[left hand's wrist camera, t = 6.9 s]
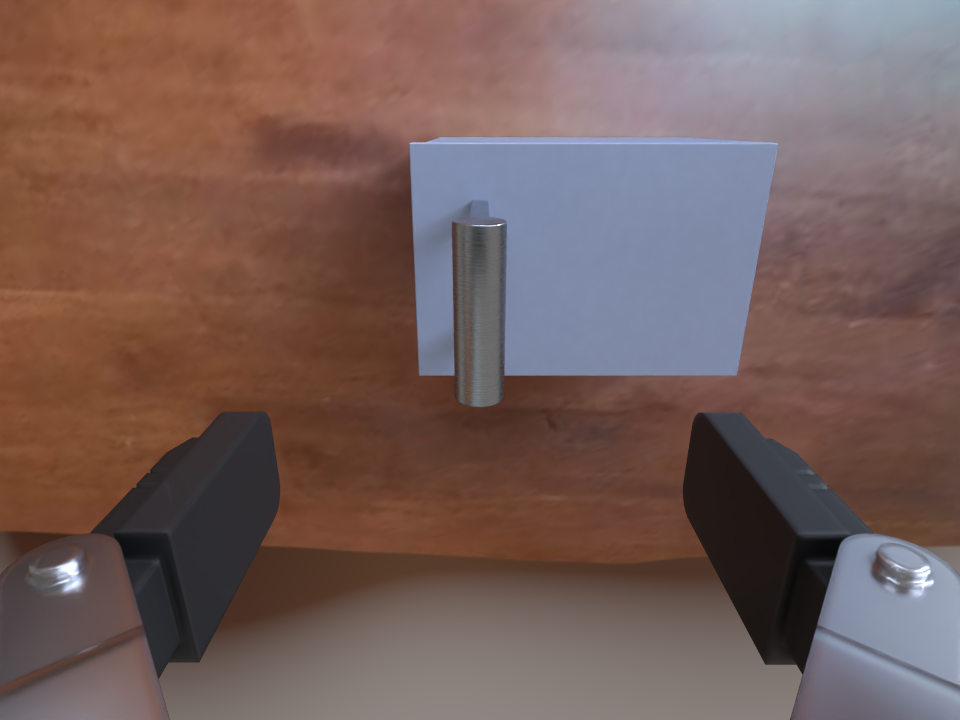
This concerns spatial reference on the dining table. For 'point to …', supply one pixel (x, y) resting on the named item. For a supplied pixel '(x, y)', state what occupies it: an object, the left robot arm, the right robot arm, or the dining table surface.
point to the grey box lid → (583, 258)
